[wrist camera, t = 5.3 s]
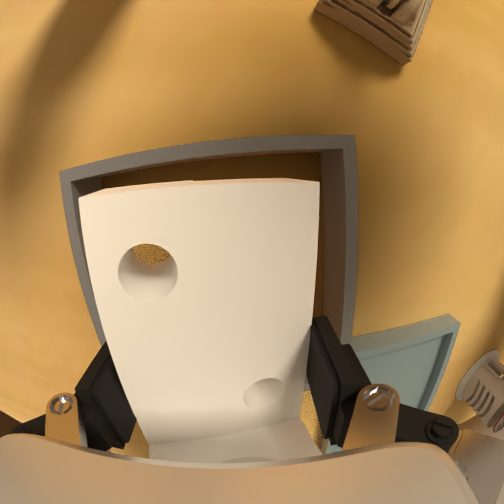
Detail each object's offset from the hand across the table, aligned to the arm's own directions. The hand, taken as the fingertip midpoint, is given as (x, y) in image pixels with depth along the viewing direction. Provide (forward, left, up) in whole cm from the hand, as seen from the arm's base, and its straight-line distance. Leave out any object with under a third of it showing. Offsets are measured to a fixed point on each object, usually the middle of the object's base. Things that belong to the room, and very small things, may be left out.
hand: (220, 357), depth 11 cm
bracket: (0, 0, -2) cm, 2 cm away
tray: (-15, +17, -10) cm, 25 cm away
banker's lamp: (-17, -27, -11) cm, 34 cm away
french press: (-34, +21, -11) cm, 42 cm away
